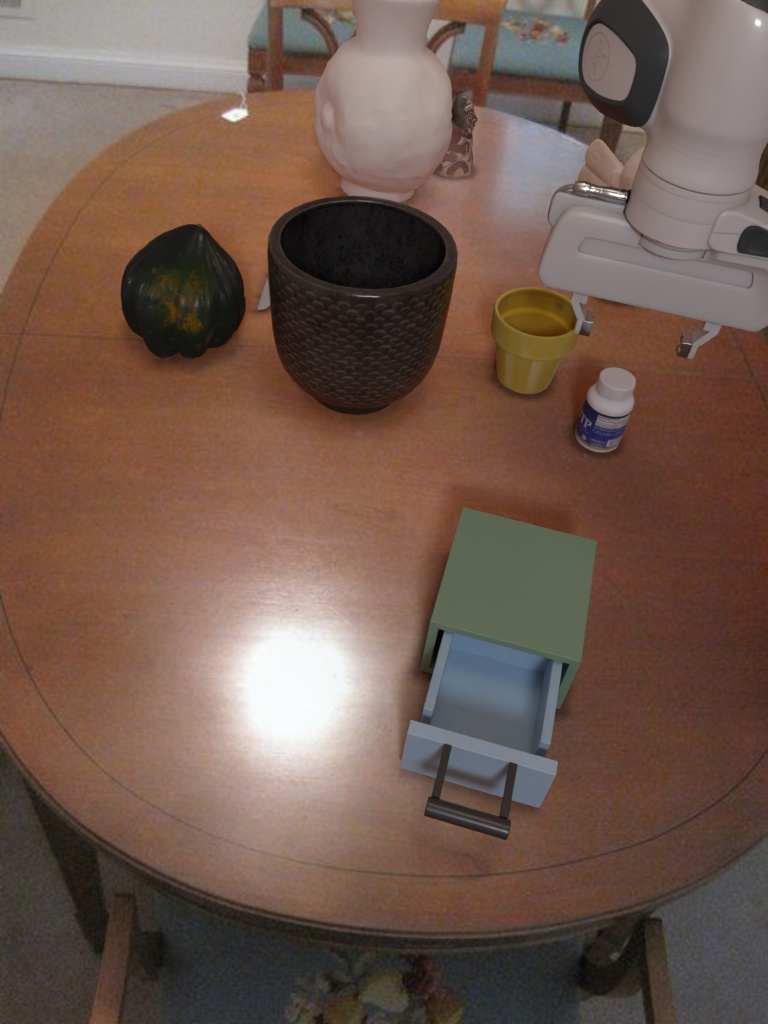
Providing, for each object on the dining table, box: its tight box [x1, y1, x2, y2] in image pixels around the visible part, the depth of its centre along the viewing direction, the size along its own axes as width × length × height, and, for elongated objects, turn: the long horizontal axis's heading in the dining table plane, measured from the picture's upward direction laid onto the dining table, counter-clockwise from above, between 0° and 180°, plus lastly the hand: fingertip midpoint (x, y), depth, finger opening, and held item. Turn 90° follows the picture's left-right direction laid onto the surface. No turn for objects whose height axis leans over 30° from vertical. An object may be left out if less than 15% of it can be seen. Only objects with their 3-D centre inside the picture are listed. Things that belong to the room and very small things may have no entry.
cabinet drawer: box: [399, 631, 563, 841], centre depth 68 cm, size 18×11×6 cm, turn 165°
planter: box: [266, 195, 459, 416], centre depth 95 cm, size 20×20×19 cm
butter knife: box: [256, 277, 270, 311], centre depth 119 cm, size 1×24×3 cm
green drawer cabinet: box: [419, 506, 598, 710], centre depth 77 cm, size 14×13×8 cm
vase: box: [313, 0, 453, 203], centre depth 124 cm, size 19×21×30 cm
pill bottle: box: [574, 366, 637, 454], centre depth 96 cm, size 5×5×9 cm
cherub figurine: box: [577, 138, 645, 204], centre depth 116 cm, size 13×12×20 cm
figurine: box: [433, 92, 479, 179], centre depth 138 cm, size 7×7×12 cm
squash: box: [120, 223, 247, 360], centre depth 102 cm, size 14×15×15 cm
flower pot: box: [490, 286, 580, 395], centre depth 103 cm, size 10×10×10 cm
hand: (632, 343), depth 79 cm, fingers open, 8 cm apart
